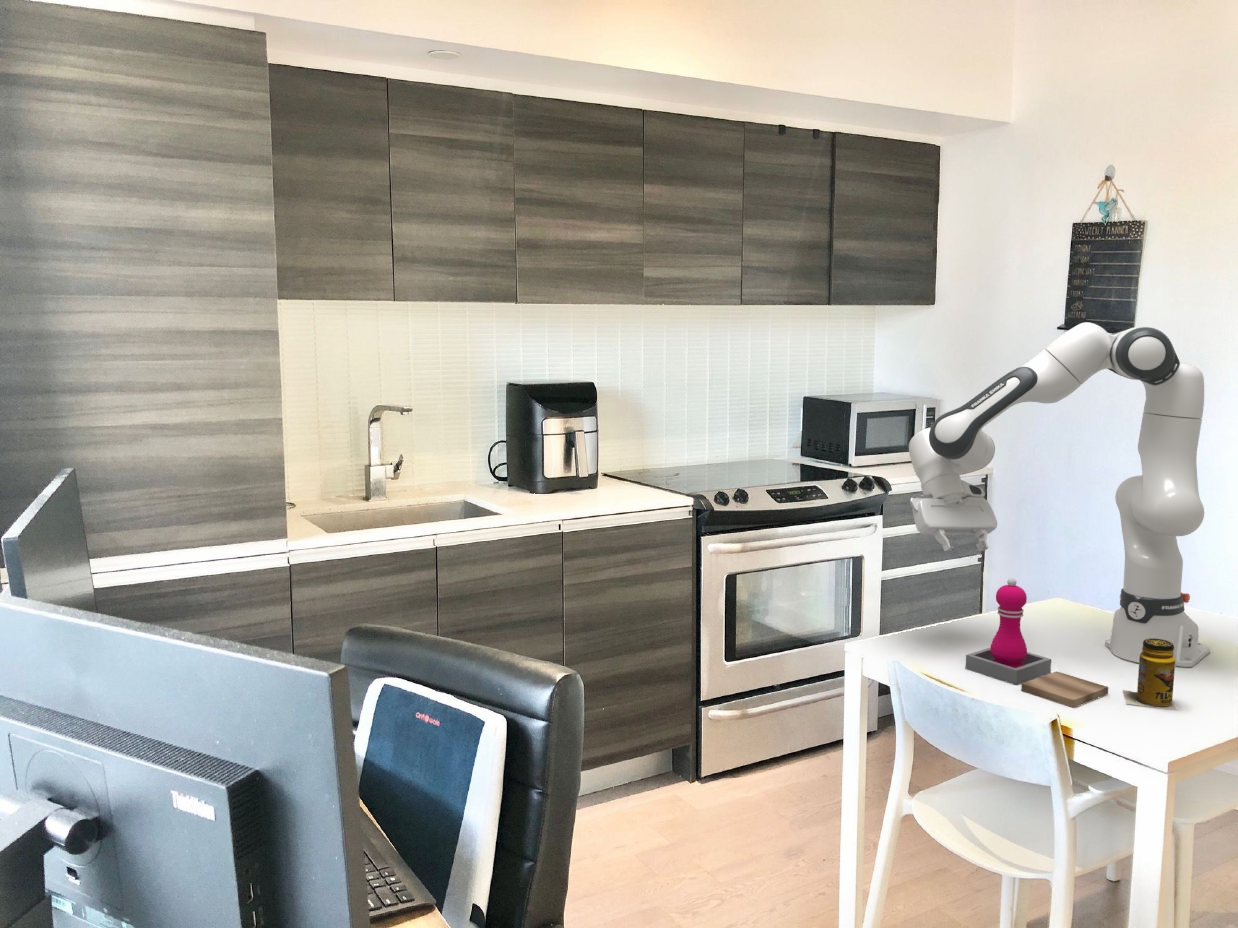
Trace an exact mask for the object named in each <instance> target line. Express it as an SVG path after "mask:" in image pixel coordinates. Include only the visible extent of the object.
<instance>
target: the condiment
mask: <svg viewBox="0 0 1238 928" xmlns="http://www.w3.org/2000/svg"><path fill="white" fill-rule="evenodd" d="M1173 651H1174V645H1173V643H1171V642H1170V641H1166V640H1163V639H1156V638H1149V639H1145V640H1144V641H1143V648H1142V653H1141V654H1140V657H1139V663H1138V675H1137V687H1136V688H1137V690H1136V691H1130V690H1124V689H1123V690H1122V693H1123V697H1124V700H1125V703H1126V705H1133V706H1140V707H1146V708H1147V707H1148V708H1153V709H1162V710H1171V711H1177V708H1176V705H1175V703H1174V700H1173V695H1174V694H1173V693H1174V685H1175V683H1174V680H1175V669H1176V668H1175V667H1176V666H1175V658H1174V657H1173V654H1174V652H1173Z"/></svg>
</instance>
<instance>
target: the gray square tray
mask: <svg viewBox="0 0 1238 928" xmlns="http://www.w3.org/2000/svg"><path fill="white" fill-rule="evenodd" d="M990 648H991V646H990V647H988V648H984V649H981V650H977V651H975V652H971V653H967V654H965V670H969V671H972V672H975V673H977V674H978V673H979V674H981V675H985V676H988V677H990V678H992V679H993V678H994V679H997V680H999V681H1003V682H1005V683H1008V684H1011V685H1015V686H1017V685H1021V684H1022V683H1024V682H1027V681H1030V680H1033V679H1036V678H1039V677H1042V676H1044V675H1047V674H1050V673H1052V672H1051V671H1052V658H1048V657H1045V656H1041V655H1038V654H1037V653H1036V654H1034V653H1032V652H1028V651H1027V656H1026V658H1025V659H1024V660H1023V661H1022V663H1023V664H1024V666H1021V667H1018V668H1013V667H1009V666H1006V665H1003V664H1000V663H997V662H993V660H994V659H995V658H994V657H993V655H992V654H991V652H990Z"/></svg>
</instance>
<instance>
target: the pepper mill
mask: <svg viewBox="0 0 1238 928" xmlns="http://www.w3.org/2000/svg"><path fill="white" fill-rule="evenodd" d="M1006 581H1007V584H1005V585H1002V586H1000V587H999V588H998V589H997V590H996V593H995V601H996V602H997V604H998V607H997V610H998V611H997V614H998V615H999V626H998V628H997V631H996V633H995V635H994V637H993V638H992V641H991V644H990V647H991V648H990V647H989V648H990V652H991V654H992V655H993V657H994V658H995V659H994V660H993V662H997V663H1000V664H1003V665H1006V666H1009V667H1013V668H1018V667H1021V666H1024V664H1023V663H1022V661H1023V660H1024V659H1025V658H1026V656H1027V652H1028V647H1027V643H1026V641H1025V639H1024V636H1023V634H1022V631H1021V620H1022V617H1023V616H1024V609H1023V607H1024V606H1025V605H1026V604H1027V600H1028V599H1027V598H1028V597H1027V593H1026V591H1025V590H1024V589H1023V588H1022V587H1021V586H1019V585H1017V580H1016V579H1015V578H1014V577H1010V578H1008V579H1007V580H1006Z"/></svg>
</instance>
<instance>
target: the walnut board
mask: <svg viewBox="0 0 1238 928" xmlns="http://www.w3.org/2000/svg"><path fill="white" fill-rule="evenodd" d="M1020 688H1021V692H1024V693H1027V694H1030V695H1033V696H1036V697H1039V698H1043V699H1045V700H1048V701H1052V702H1055V703H1057V704H1060V705H1063V706H1067V707H1070V708H1072V709H1073V708H1076V707H1079V706H1082V705H1084V704H1086V702H1087V703H1089V702H1091V701H1094V700H1093V699H1095V700H1097V699H1099V698H1098V697H1100V698H1102V697H1104V695H1105V696H1107V695H1109V686H1107V685H1103V684H1100V683H1097V682H1093V681H1089V680H1087V679H1083V678H1081V677H1077V676H1073V675H1070V674H1066V673H1063V672H1059V671H1054V672H1051V673H1049V674H1046V675H1043V676H1040V677H1037V678H1035V679H1032V680H1029V681H1026V682H1023V683H1021V687H1020ZM1106 694H1107V695H1106ZM1081 704H1082V705H1081Z"/></svg>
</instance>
